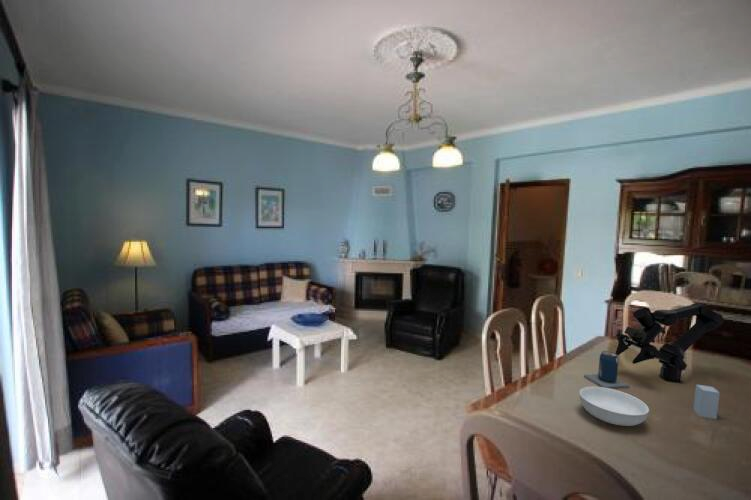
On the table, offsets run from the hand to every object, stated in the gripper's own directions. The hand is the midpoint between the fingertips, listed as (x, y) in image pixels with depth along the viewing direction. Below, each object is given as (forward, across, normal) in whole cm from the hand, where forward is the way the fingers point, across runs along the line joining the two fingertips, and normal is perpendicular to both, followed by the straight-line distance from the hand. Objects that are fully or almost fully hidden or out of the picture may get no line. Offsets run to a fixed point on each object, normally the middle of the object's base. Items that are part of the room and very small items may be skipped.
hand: (624, 358), depth 164 cm
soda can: (+12, 0, +1) cm, 12 cm away
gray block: (+2, +29, +13) cm, 32 cm away
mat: (+13, 0, +1) cm, 13 cm away
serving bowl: (+28, +27, -13) cm, 41 cm away
